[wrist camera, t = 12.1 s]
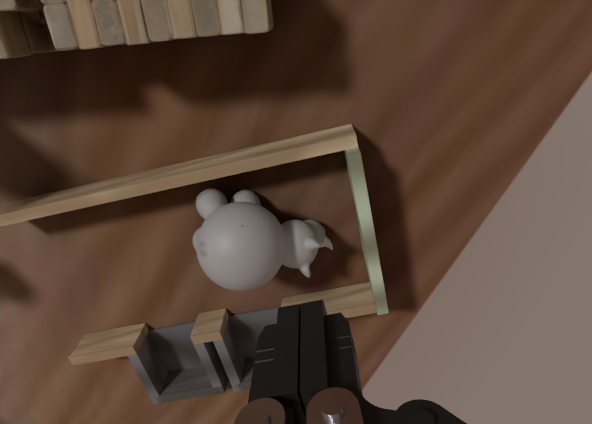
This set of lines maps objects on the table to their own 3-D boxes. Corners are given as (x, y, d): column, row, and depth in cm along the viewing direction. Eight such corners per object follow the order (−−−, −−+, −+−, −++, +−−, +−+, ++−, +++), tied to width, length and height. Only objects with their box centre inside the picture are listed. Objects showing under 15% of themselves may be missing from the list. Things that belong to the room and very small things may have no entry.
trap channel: (8, 202, 37) (-33, 227, 33) (351, 123, 34) (358, 139, 29) (116, 385, 47) (95, 424, 43) (390, 340, 43) (400, 377, 39)
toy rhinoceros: (301, 248, 42) (336, 304, 35) (183, 247, 37) (196, 312, 30) (320, 186, 39) (362, 234, 32) (193, 176, 34) (211, 230, 27)
